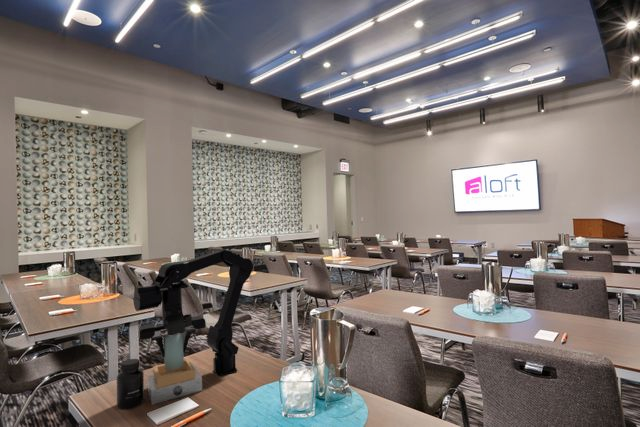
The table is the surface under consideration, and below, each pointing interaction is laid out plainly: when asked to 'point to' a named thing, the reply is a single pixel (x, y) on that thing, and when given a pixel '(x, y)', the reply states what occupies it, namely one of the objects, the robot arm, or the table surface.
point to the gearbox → (173, 382)
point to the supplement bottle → (130, 385)
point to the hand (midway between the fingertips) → (173, 354)
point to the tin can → (173, 351)
